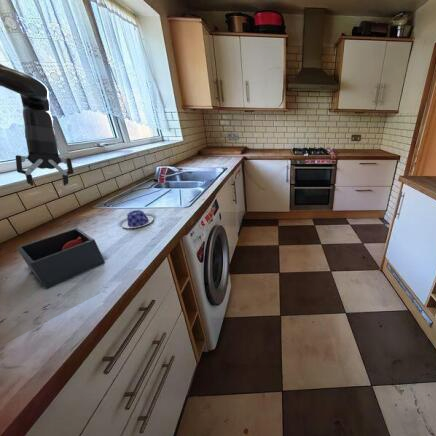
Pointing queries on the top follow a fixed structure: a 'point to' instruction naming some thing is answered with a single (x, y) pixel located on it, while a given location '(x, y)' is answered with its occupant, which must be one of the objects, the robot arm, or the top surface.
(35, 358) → the top surface
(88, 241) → the trash bin
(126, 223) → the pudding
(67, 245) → the onion
